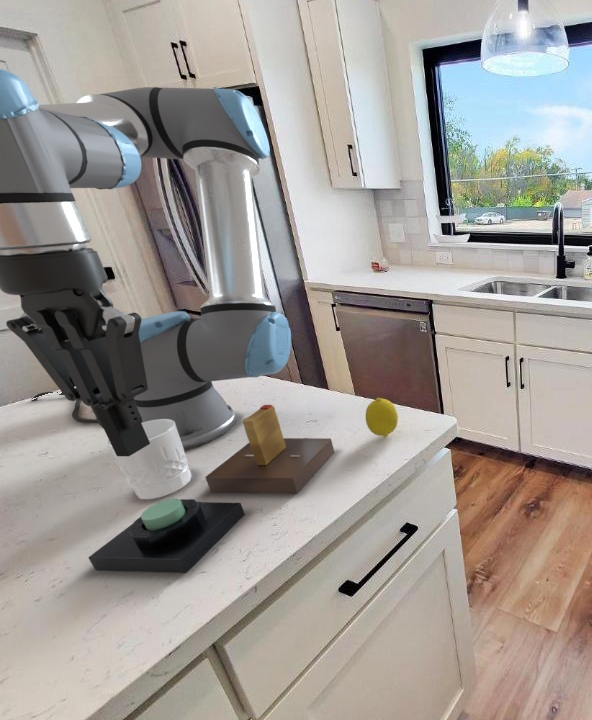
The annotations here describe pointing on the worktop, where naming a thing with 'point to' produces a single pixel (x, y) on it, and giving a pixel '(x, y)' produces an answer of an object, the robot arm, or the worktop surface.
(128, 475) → the white cup
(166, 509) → the bell button
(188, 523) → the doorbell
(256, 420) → the lock turn
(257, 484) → the plate
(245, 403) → the worktop surface
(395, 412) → the lemon
